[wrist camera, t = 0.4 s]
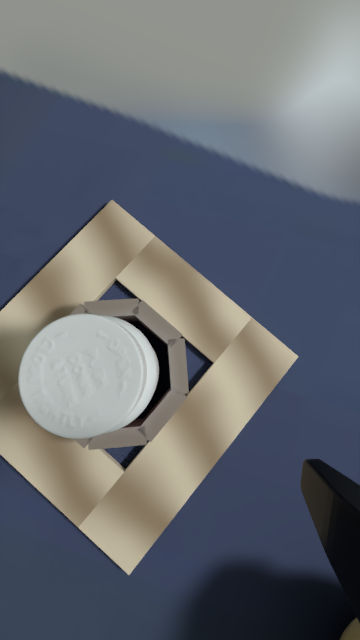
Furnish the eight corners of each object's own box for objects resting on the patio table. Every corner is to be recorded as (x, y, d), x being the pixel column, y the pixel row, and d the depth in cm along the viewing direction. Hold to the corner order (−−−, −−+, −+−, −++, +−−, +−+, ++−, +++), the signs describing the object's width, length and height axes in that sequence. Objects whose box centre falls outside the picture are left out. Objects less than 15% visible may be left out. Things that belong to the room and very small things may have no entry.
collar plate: (129, 569, 21) (124, 603, 18) (-68, 384, 22) (-103, 387, 19) (295, 356, 24) (313, 355, 21) (113, 203, 25) (106, 182, 22)
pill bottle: (80, 412, 22) (-3, 459, 11) (81, 332, 23) (5, 303, 12) (161, 408, 23) (157, 450, 12) (158, 329, 24) (153, 299, 13)
